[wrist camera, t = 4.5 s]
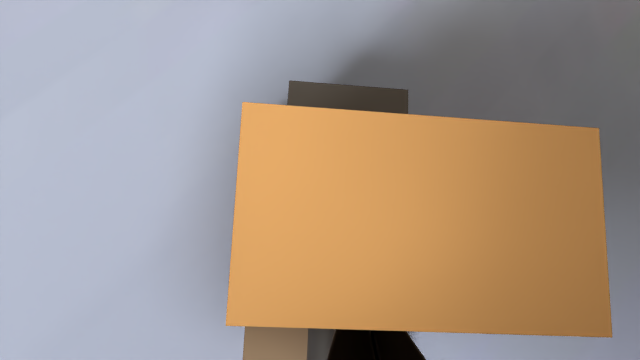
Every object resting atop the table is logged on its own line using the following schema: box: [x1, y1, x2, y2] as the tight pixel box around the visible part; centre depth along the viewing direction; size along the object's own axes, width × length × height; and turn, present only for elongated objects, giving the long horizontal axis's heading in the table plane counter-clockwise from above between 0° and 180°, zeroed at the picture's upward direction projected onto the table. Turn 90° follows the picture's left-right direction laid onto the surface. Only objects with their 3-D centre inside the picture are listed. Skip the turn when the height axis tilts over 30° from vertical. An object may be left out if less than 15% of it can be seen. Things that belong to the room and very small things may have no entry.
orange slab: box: [226, 102, 612, 337], centre depth 10 cm, size 2×4×10 cm, turn 87°
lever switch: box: [243, 81, 408, 360], centre depth 14 cm, size 12×5×5 cm, turn 177°
